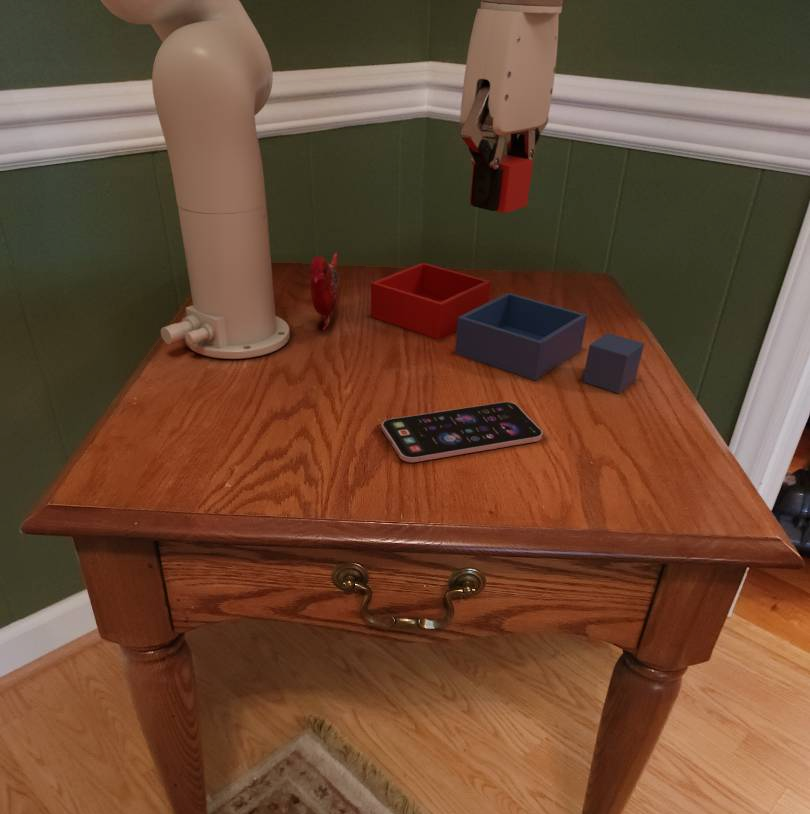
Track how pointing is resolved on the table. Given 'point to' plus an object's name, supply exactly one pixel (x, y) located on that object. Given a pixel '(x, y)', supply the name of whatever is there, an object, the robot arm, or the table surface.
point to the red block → (513, 183)
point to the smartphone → (460, 431)
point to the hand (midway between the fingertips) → (498, 201)
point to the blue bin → (520, 335)
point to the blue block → (612, 362)
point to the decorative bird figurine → (324, 286)
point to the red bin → (427, 298)
